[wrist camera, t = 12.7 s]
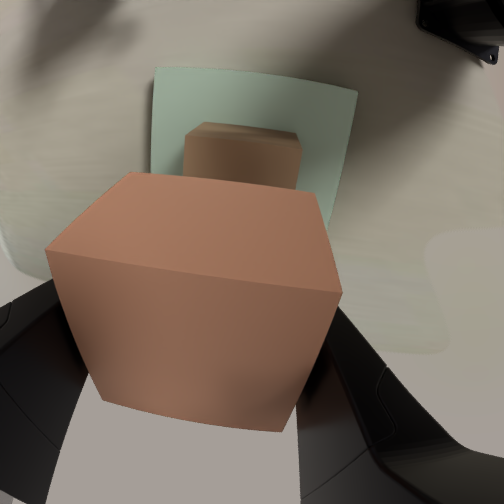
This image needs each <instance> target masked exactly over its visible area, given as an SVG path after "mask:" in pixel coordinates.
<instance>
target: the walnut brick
mask: <svg viewBox="0 0 504 504" xmlns="http://www.w3.org/2000/svg"><path fill="white" fill-rule="evenodd" d="M302 151H303V149H302V147H301V144H300V142H299V139H298V137H297V135H296V133H292V132H286V131H280V130H273V129H266V128H259V127H251V126H242V125H234V124H224V123H213V122H203V123H201V124H200V125H199V126H197V127H196V128H194V129H193V130H192V131H190V132H189V133H188V134H186V135H185V144H184V163H183V176H187V177H197V178H207V179H216V180H225V181H233V182H242V183H249V184H257V185H265V186H272V187H279V188H286V189H292V190H295V189H296V183H297V178H298V173H299V167H300V162H301V157H302Z"/></svg>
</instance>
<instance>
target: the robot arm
mask: <svg viewBox="0 0 504 504" xmlns="http://www.w3.org/2000/svg"><path fill="white" fill-rule="evenodd" d="M422 21H425V22H426V25H427V26H426V27H425V26H423V24H422ZM416 25H417V27H418V28H419V29H420V30H422V31H424V32H426V33H429V34H431V35H433V36H435V37H438V38H440V39H442V40H444V41H446V42H448V43H451V44H453V45H455V46H457V47H459V48H461V49H463V50H464V51H466V52H468V53H470V54H472V55H474V56H476V57H477V58H479V59H481V60H483V61H485V62H486V63H488V64H492V65H495V64H496V63H497V60H498V51H499V46H504V0H418V5H417V15H416ZM490 55H491V57H492V60H491V59H490ZM386 366H387V365H386V364H385V362H384V361H383V360H382V359H381V357H380V356H379V355H378V354H377V353H376V351H375V350H374V349H373V348H372V346H371V345H370V344H369V343H368V341H367V340H366V339H365V338H364V337H363V335H362V334H361V333H360V332H359V331H358V329H357V328H356V327H355V326H354V324H353V323H352V322H351V321H350V320H349V318H348V317H347V316H346V315H345V314H344V312H343V311H342V310H341V309H340V308H339V306H338V307H337V309H336V312H335V314H334V317H333V319H332V322H331V325H330V327H329V330H328V332H327V335H326V337H325V339H324V342H323V344H322V347H321V349H320V351H319V354H318V356H317V358H316V361H315V363H314V365H313V368H312V370H311V372H310V374H309V377H308V379H307V381H306V383H305V386H304V388H303V390H302V392H301V394H300V396H299V398H298V401H297V403H296V414H297V430H298V431H297V432H298V451H299V472H300V494H301V495H300V496H301V504H504V458H502V457H497V456H493V455H489V454H484V453H480V452H476V451H473V450H470V449H468V448H466V447H464V446H463V445H461V444H459V443H458V442H457V441H456V440H455V439H453V438H452V437H451V436H450V435H449V434H448V433H447V431H445V430H444V428H443V427H442V426H441V425H440V424H439V423H438V422H437V421H436V420H435V419H434V418H433V417H432V416H431V415H430V414H429V413H428V412H427V411H426V410H425V409H424V408H423V407H422V406H421V404H420V403H419V402H418V401H417V400H416V399H415V398H414V397H413V396H412V395H411V394H410V393H409V391H408V390H407V389H406V388H405V387H404V385H403V384H402V383H401V382H400V381H399V380H398V378H397V377H396V376H395V375H394V373H393V372H392V371H391V370H390V368H388V367H387V368H386ZM88 373H89V371H88V369H87V367H86V365H85V363H84V360H83V358H82V356H81V354H80V351H79V349H78V346H77V344H76V342H75V339H74V337H73V334H72V332H71V329H70V327H69V324H68V321H67V319H66V316H65V313H64V310H63V307H62V305H61V302H60V299H59V296H58V293H57V290H56V286H55V283H54V280H53V279H51V280H49V281H47V282H45V283H43V284H42V285H40V286H38V287H36V288H34V289H32V290H31V291H29V292H27V293H25V294H23V295H22V296H20V297H18V298H16V299H14V300H13V301H12V302H9V303H7V304H6V305H4V306H2V307H0V504H12V501H13V498H16V499H18V500H20V501H22V502H24V503H26V504H45V503H46V499H47V495H48V492H49V487H50V484H51V480H52V477H53V474H54V470H55V467H56V464H57V460H58V457H59V453H60V450H61V447H62V444H63V441H64V438H65V435H66V432H67V429H68V426H69V423H70V420H71V418H72V415H73V412H74V409H75V407H76V404H77V401H78V399H79V396H80V393H81V391H82V388H83V386H84V383H85V381H86V378H87V376H88Z"/></svg>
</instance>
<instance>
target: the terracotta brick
mask: <svg viewBox="0 0 504 504" xmlns="http://www.w3.org/2000/svg"><path fill="white" fill-rule="evenodd" d="M45 252H46V256H47V259H48V263H49V266H50V270H51V273H52V277H53V280H54V283H55V286H56V290H57V293H58V296H59V299H60V302H61V305H62V307H63V310H64V313H65V316H66V319H67V321H68V324H69V327H70V329H71V332H72V334H73V337H74V339H75V342H76V344H77V346H78V349H79V351H80V354H81V356H82V358H83V360H84V363H85V365H86V367H87V369H88V371H89V374H90V376H91V377H92V380H93V382H94V384H95V386H96V388H97V390H98V392H99V394H100V396H101V398H102V400H104V401H107V402H111V403H114V404H118V405H121V406H125V407H129V408H133V409H136V410H140V411H144V412H148V413H152V414H157V415H161V416H166V417H171V418H176V419H181V420H186V421H192V422H197V423H204V424H209V425H217V426H223V427H231V428H239V429H248V430H259V431H271V432H282V431H283V429H284V427H285V425H286V423H287V421H288V419H289V417H290V415H291V413H292V411H293V409H294V407H295V405H296V403H297V401H298V398H299V396H300V394H301V392H302V390H303V388H304V386H305V383H306V381H307V379H308V377H309V374H310V372H311V370H312V368H313V365H314V363H315V361H316V358H317V356H318V354H319V351H320V349H321V347H322V344H323V342H324V339H325V337H326V335H327V332H328V330H329V327H330V325H331V322H332V319H333V317H334V314H335V312H336V309H337V307H338V304H339V301H340V299H341V296H342V293H343V292H342V288H341V284H340V280H339V276H338V272H337V268H336V265H335V261H334V257H333V253H332V250H331V246H330V243H329V239H328V236H327V232H326V229H325V225H324V222H323V218H322V215H321V212H320V208H319V205H318V202H317V198H316V195H315V193H312V192H305V191H299V190H292V189H286V188H279V187H272V186H265V185H257V184H249V183H242V182H233V181H225V180H216V179H207V178H197V177H187V176H176V175H165V174H152V173H138V172H130V173H128V174H127V175H126V176H125V177H123V178H122V179H121V180H120V181H119V182H117V183H116V184H115V185H114V186H113V187H111V188H110V189H109V190H108V191H107V192H105V193H104V194H103V195H102V196H101V197H100V198H99V199H97V200H96V201H95V202H94V203H93V204H92V205H91V206H89V207H88V208H87V209H86V210H85V211H84V212H83V213H82V214H81V215H80V216H79V217H77V218H76V219H75V220H74V221H73V222H72V223H71V224H70V225H69V226H68V227H67V228H66V229H65V230H64V231H63V232H62V233H61V234H60V235H59V236H58V237H57V238H56V239H55V240H54V241H53V242H52V243H51V244H50V245H49V246H48V247H47V248H46V249H45Z"/></svg>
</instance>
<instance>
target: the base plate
mask: <svg viewBox="0 0 504 504" xmlns="http://www.w3.org/2000/svg"><path fill="white" fill-rule="evenodd" d="M357 97H358V91H355V90H351V89H347V88H342V87H338V86H334V85H329V84H324V83H319V82H314V81H309V80H304V79H298V78H292V77H286V76H279V75H272V74H265V73H256V72H247V71H237V70H226V69H211V68H187V67H155V78H154V91H153V108H152V131H151V173H152V174H165V175H176V176H183V163H184V144H185V135H186V134H188V133H189V132H190V131H192V130H193V129H194V128H196V127H197V126H199V125H200V124H201V123H203V122H213V123H224V124H234V125H242V126H251V127H259V128H266V129H273V130H280V131H286V132H292V133H296V135H297V137H298V139H299V142H300V144H301V147H302V149H303V151H302V157H301V162H300V167H299V173H298V178H297V183H296V189H295V190H299V191H305V192H312V193H315V195H316V198H317V202H318V205H319V208H320V212H321V215H322V218H323V222H324V225H325V229H326V232H327V229H328V225H329V221H330V218H331V214H332V210H333V206H334V202H335V198H336V194H337V190H338V185H339V181H340V177H341V173H342V168H343V164H344V160H345V155H346V151H347V146H348V141H349V137H350V132H351V127H352V122H353V117H354V112H355V107H356V102H357Z"/></svg>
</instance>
